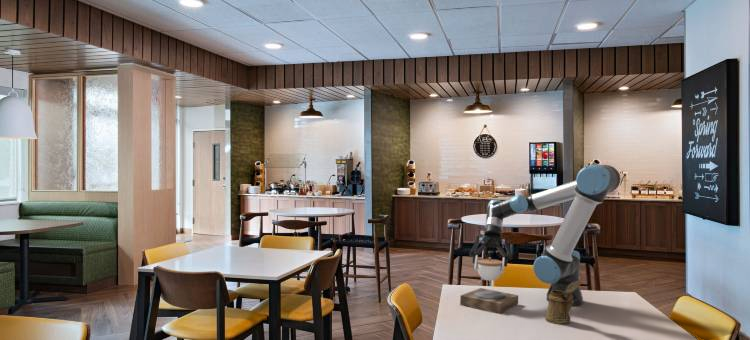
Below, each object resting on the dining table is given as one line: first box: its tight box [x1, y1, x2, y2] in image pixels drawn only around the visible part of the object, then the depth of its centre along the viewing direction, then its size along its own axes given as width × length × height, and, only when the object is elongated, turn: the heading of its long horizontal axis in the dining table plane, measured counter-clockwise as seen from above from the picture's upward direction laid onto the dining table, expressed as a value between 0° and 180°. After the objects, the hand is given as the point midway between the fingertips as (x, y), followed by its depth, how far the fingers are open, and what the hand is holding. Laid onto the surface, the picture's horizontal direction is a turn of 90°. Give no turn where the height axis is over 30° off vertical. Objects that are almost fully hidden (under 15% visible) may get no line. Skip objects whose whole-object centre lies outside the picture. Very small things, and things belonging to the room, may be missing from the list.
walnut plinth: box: [459, 287, 519, 314], centre depth 217 cm, size 18×18×4 cm
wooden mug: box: [544, 279, 581, 325], centre depth 195 cm, size 9×14×18 cm, turn 28°
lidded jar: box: [476, 256, 503, 282], centre depth 218 cm, size 11×11×9 cm
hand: (488, 270), depth 215 cm, fingers closed on lidded jar, 11 cm apart
